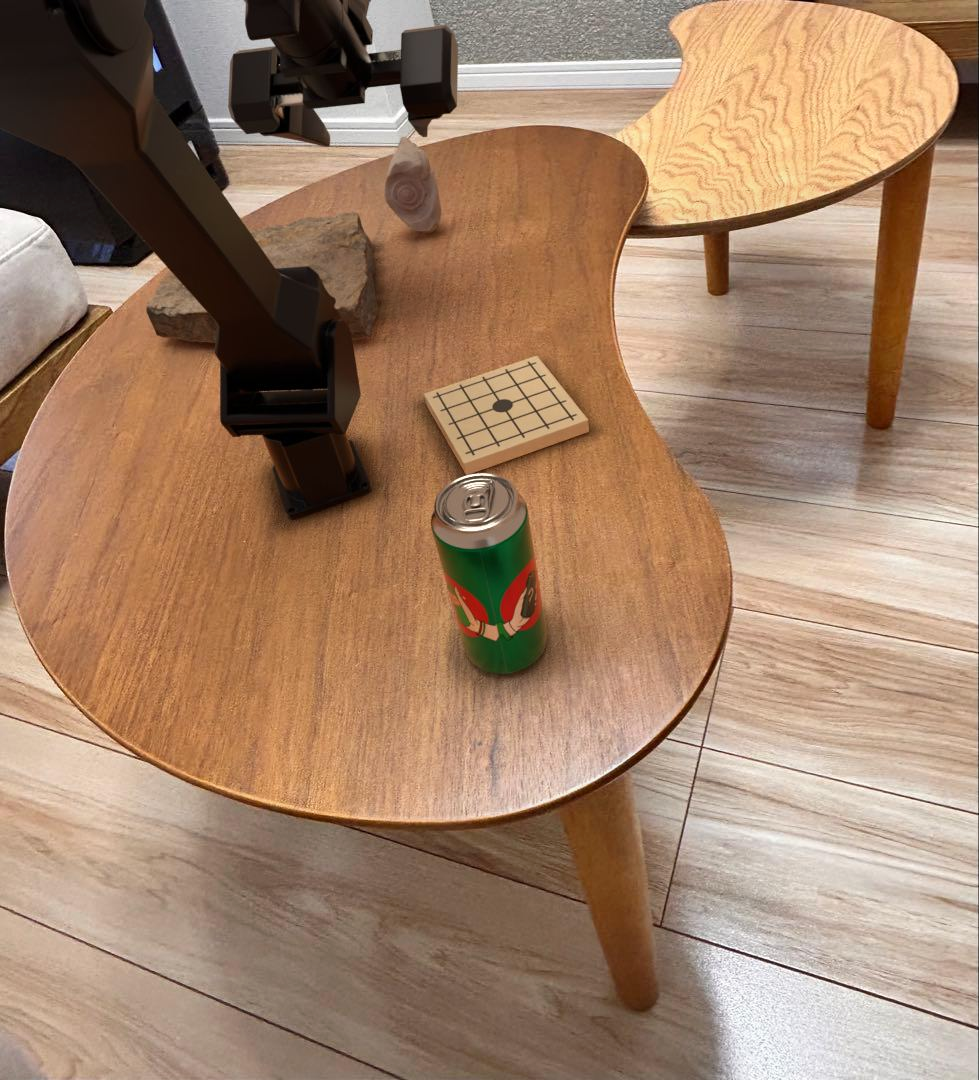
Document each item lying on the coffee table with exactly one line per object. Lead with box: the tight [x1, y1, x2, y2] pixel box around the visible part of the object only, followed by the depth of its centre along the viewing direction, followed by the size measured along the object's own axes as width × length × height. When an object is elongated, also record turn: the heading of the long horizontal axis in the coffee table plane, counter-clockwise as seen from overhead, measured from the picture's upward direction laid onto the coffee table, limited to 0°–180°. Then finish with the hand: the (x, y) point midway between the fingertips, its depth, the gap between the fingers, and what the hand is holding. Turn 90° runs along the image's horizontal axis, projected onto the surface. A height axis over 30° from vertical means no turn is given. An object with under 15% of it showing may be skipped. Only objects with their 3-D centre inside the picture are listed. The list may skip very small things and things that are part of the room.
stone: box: [145, 211, 379, 344], centre depth 86 cm, size 21×19×4 cm
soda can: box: [430, 472, 548, 675], centre depth 48 cm, size 5×5×12 cm
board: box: [423, 355, 590, 476], centre depth 68 cm, size 10×10×1 cm
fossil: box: [384, 136, 442, 234], centre depth 90 cm, size 6×4×10 cm, turn 73°
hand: (376, 136), depth 78 cm, fingers open, 9 cm apart
